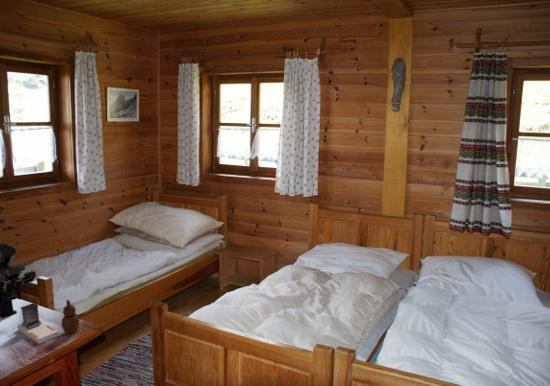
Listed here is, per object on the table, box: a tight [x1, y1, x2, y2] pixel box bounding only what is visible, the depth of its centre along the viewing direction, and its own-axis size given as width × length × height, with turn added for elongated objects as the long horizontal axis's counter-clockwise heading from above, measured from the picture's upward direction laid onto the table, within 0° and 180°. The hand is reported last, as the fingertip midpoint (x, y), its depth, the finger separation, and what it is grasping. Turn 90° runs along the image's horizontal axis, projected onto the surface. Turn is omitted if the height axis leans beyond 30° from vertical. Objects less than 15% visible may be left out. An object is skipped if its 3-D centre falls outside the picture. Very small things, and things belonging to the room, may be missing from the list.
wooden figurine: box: [61, 300, 80, 334], centre depth 193 cm, size 7×6×15 cm
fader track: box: [17, 319, 60, 344], centre depth 193 cm, size 18×8×2 cm, turn 53°
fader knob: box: [20, 302, 41, 329], centre depth 195 cm, size 6×5×8 cm
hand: (20, 298), depth 198 cm, fingers closed
